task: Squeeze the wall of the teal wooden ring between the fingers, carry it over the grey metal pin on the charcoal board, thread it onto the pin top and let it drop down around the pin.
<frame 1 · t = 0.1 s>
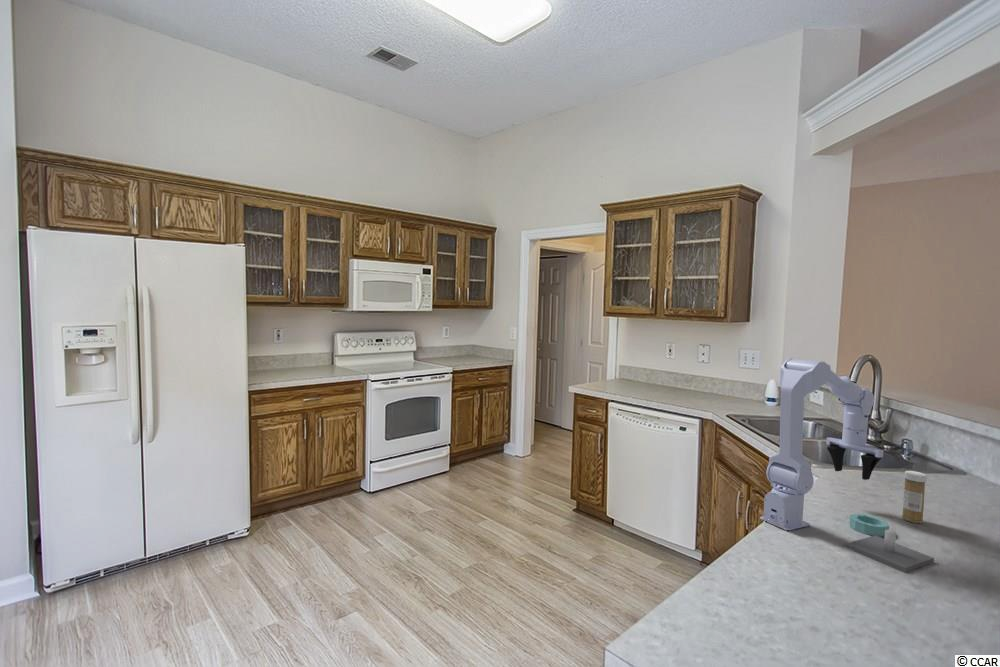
hand: (851, 474, 141), 10 cm above the counter, tool pointing down, fingers open, 7 cm apart
sprinkles bottle: (911, 521, 134), on the counter
pin board: (888, 554, 113), on the counter
ring: (868, 529, 127), on the counter
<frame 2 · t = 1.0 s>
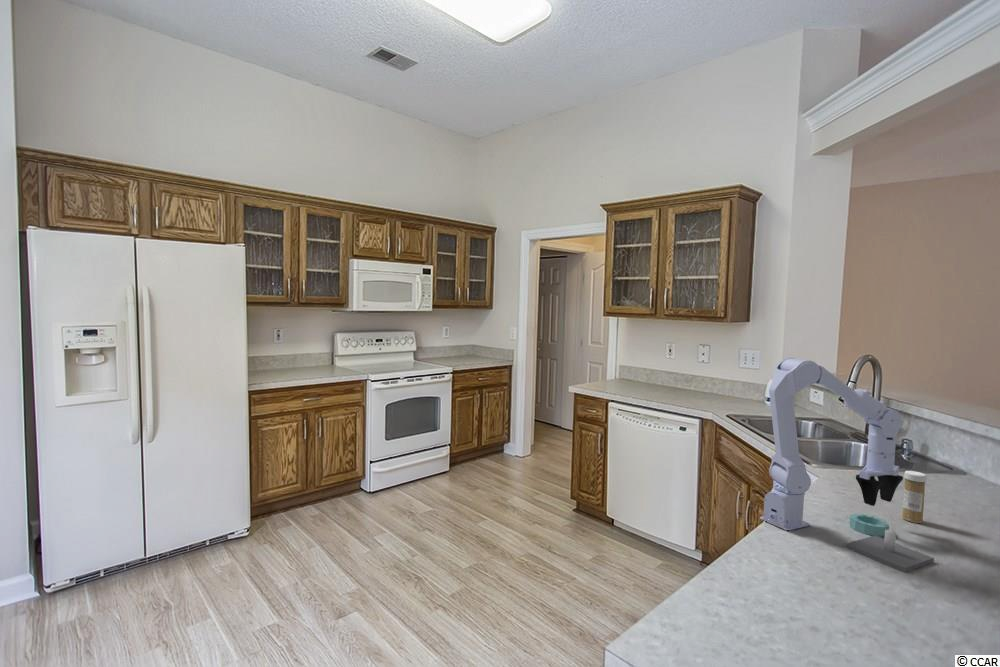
hand: (877, 502, 128), 7 cm above the counter, tool pointing down, fingers open, 7 cm apart
nothing on the counter moved.
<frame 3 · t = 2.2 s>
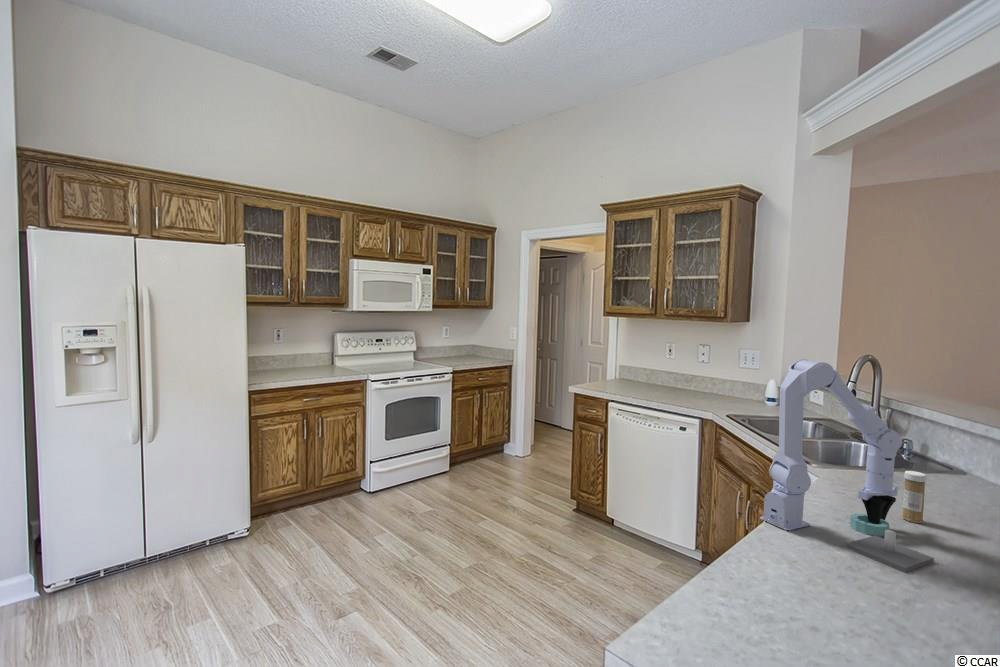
hand: (876, 522, 128), 1 cm above the counter, tool pointing down, fingers closed on ring, 2 cm apart
ring: (868, 529, 127), on the counter, touching gripper
everything else where it was.
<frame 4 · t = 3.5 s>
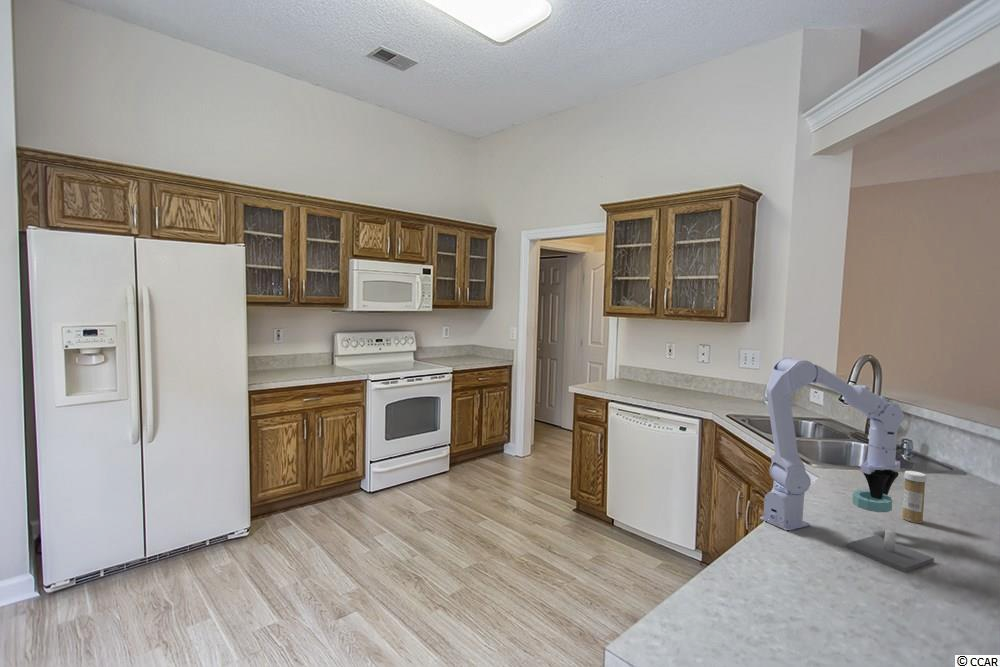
hand: (878, 497, 128), 8 cm above the counter, tool pointing down, fingers closed on ring
ring: (871, 505, 126), point 7 cm above the counter, tilted 5°, touching gripper
everything else where it was.
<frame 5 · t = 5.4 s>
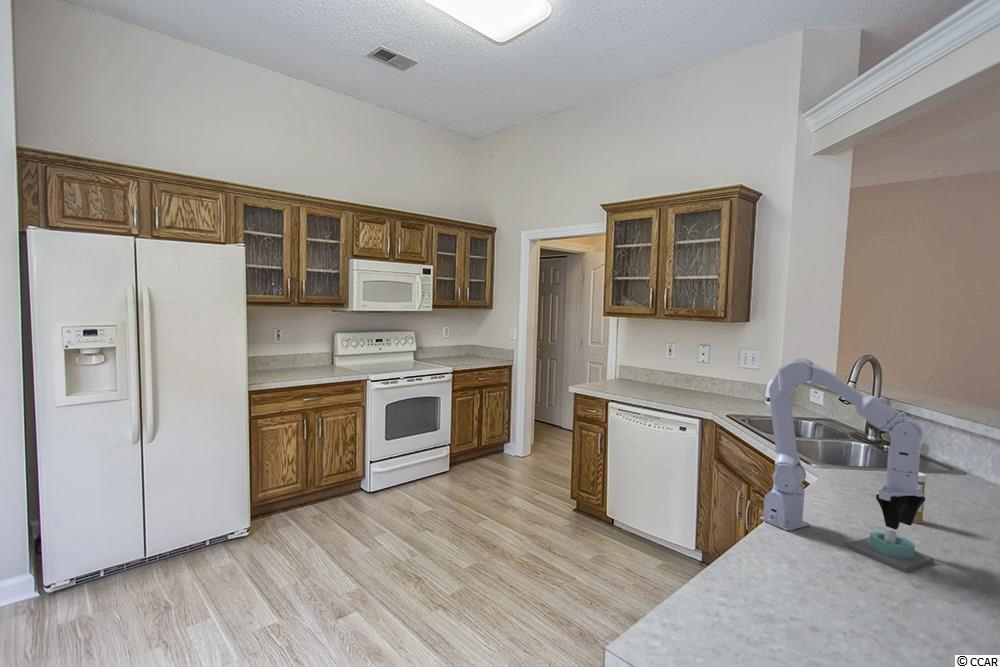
hand: (898, 525, 114), 6 cm above the counter, tool pointing down, fingers open, 5 cm apart
ring: (891, 549, 114), point 1 cm above the counter, touching pin board
everything else where it was.
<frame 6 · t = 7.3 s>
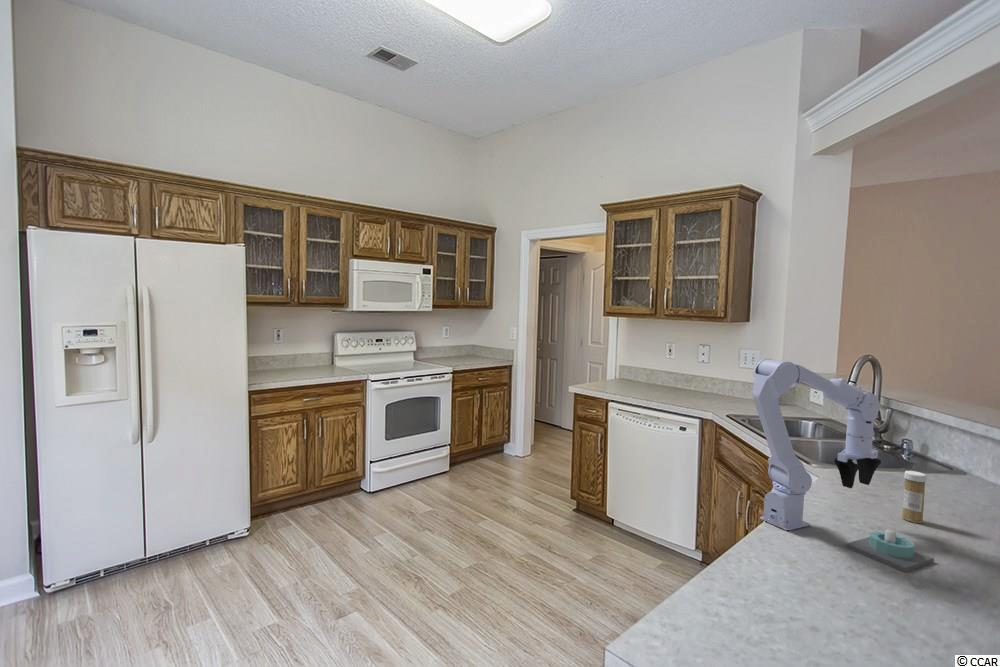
hand: (856, 485, 130), 10 cm above the counter, tool pointing down, fingers open, 7 cm apart
nothing on the counter moved.
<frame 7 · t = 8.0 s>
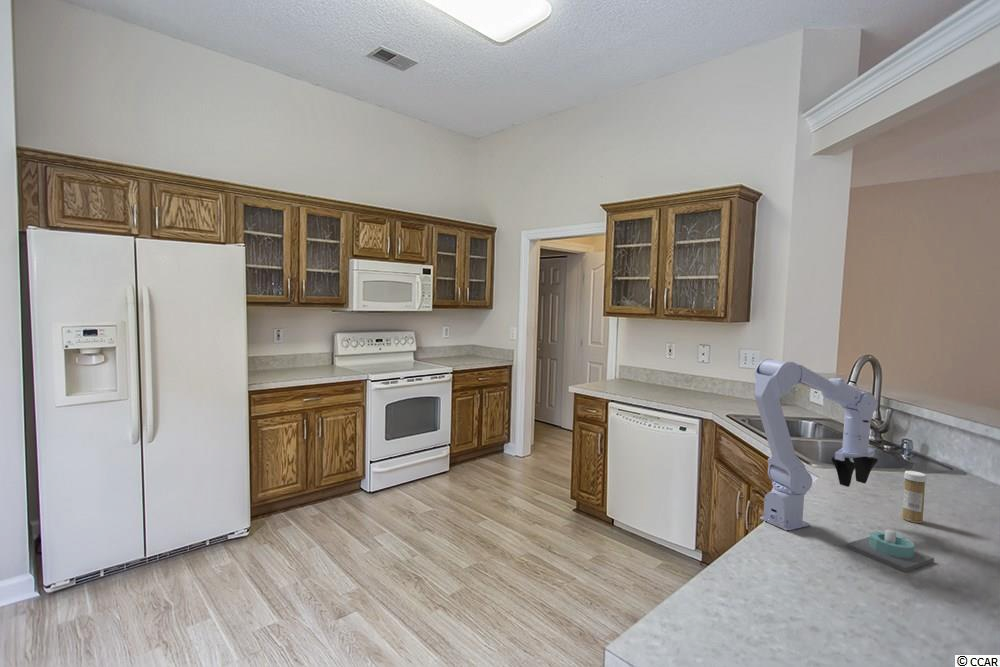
hand: (852, 483, 132), 10 cm above the counter, tool pointing down, fingers open, 7 cm apart
nothing on the counter moved.
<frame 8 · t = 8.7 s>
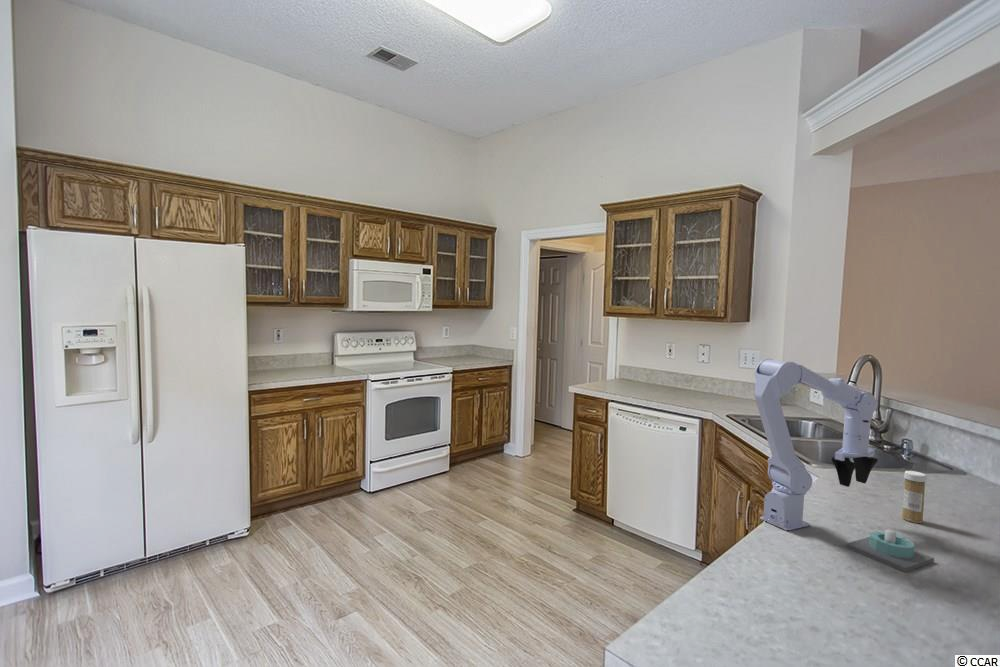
hand: (852, 483, 132), 10 cm above the counter, tool pointing down, fingers open, 7 cm apart
nothing on the counter moved.
at the end: ring 0.9 cm from the pin board (horizontally); ring point 1.0 cm above the counter; the gripper is holding nothing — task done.
